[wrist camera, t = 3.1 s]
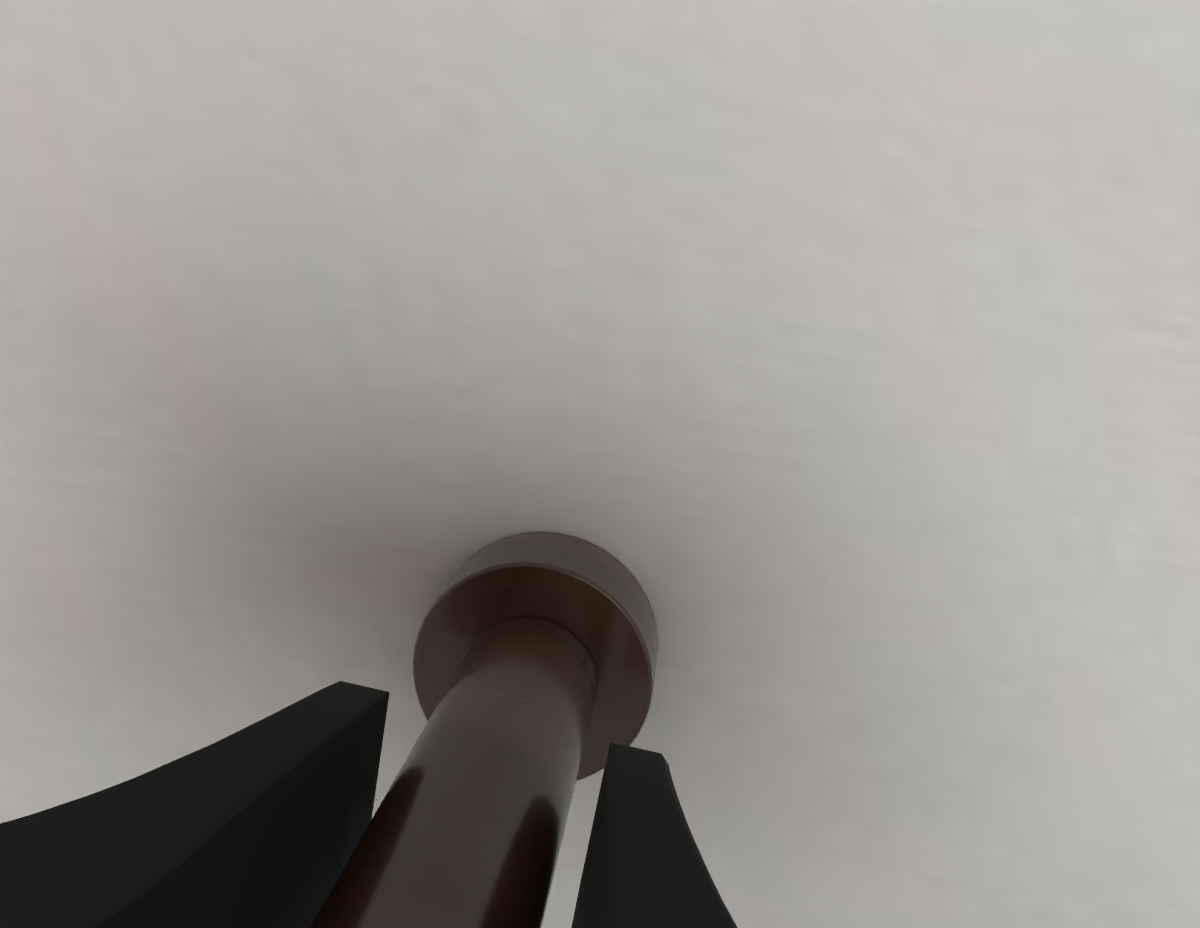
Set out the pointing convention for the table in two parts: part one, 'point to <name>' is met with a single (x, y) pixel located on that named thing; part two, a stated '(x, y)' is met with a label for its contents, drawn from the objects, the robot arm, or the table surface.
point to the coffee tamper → (503, 736)
